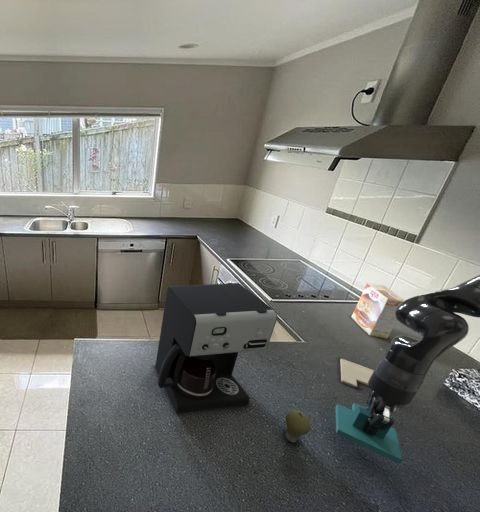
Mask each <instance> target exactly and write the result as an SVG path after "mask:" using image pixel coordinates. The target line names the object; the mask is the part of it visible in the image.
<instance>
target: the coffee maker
mask: <svg viewBox="0 0 480 512" xmlns="http://www.w3.org/2000/svg"><path fill="white" fill-rule="evenodd" d="M166 289H167V290H166V295H165V301H164V308H163V314H162V321H161V326H160V327H161V328H160V333H159V340H158V347H157V354H156V360H155V366H154V369H155V371H156V373H157V375H158V379H157V385H158V387H159V388H160V389H164V390H165V392H166V395H167V396H168V398H169V400H170V403H171V405H172V407H173V409H174V411H175V413H176V414H182V413H190V412H199V411H207V410H215V409H224V408H233V407H241V406H247V405H249V402H250V396H249V395H248V394H247V392H246V391H245V389H243V387H242V386H241V385H240V383H239V382H238V381H237V379H236V378H235V376H234V375H233V374H234V373H233V372H234V369H235V365H236V362H237V358H238V355H239V353H243V352H244V353H245V352H253V351H254V352H255V351H265V350H267V349H268V347H269V344H270V342H271V338H272V335H273V333H274V329H275V327H276V324H277V322H278V313H277V312H276V310H275V309H273V308H272V307H271V306H269V304H267V303H266V302H265V301H263V300H262V299H261V298H259V297H258V296H257V295H255V294H254V293H252V292H251V291H250V290H249V289H248V288H246V287H245V286H243V284H241V283H239V282H233V283H211V284H208V283H207V284H186V285H168V287H167V288H166Z"/></svg>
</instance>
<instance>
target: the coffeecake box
mask: <svg viewBox="0 0 480 512" xmlns="http://www.w3.org/2000/svg"><path fill="white" fill-rule="evenodd" d="M405 300H406V299H404V298H403V297H402V296H400V295H398V294H397V293H396V292H394V291H393V290H391V289H390V288H388V287H387V286H385V285H381V284H375V283H371V282H370V283H368V282H367V283H366V284H365V286H364V289H363V291H362V293H361V295H360V297H359V300H358V302H357V304H356V306H355V308H354V311H353V312H352V315H351V319H352V320H353V321H354V322H355V323H356V324H357V325H358V326H359V327H360V328H361V329H362V330H363V331H364V332H366V334H368V335H369V336H371V337H378V338H383V339H389V337H390V334H391V333H392V331H393V329H394V327H395V325H396V324H397V321H398V320H397V319H396V317H395V310H396V308H397V307H398V306H399V305H400V304H401V303H402V302H403V301H405Z"/></svg>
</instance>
